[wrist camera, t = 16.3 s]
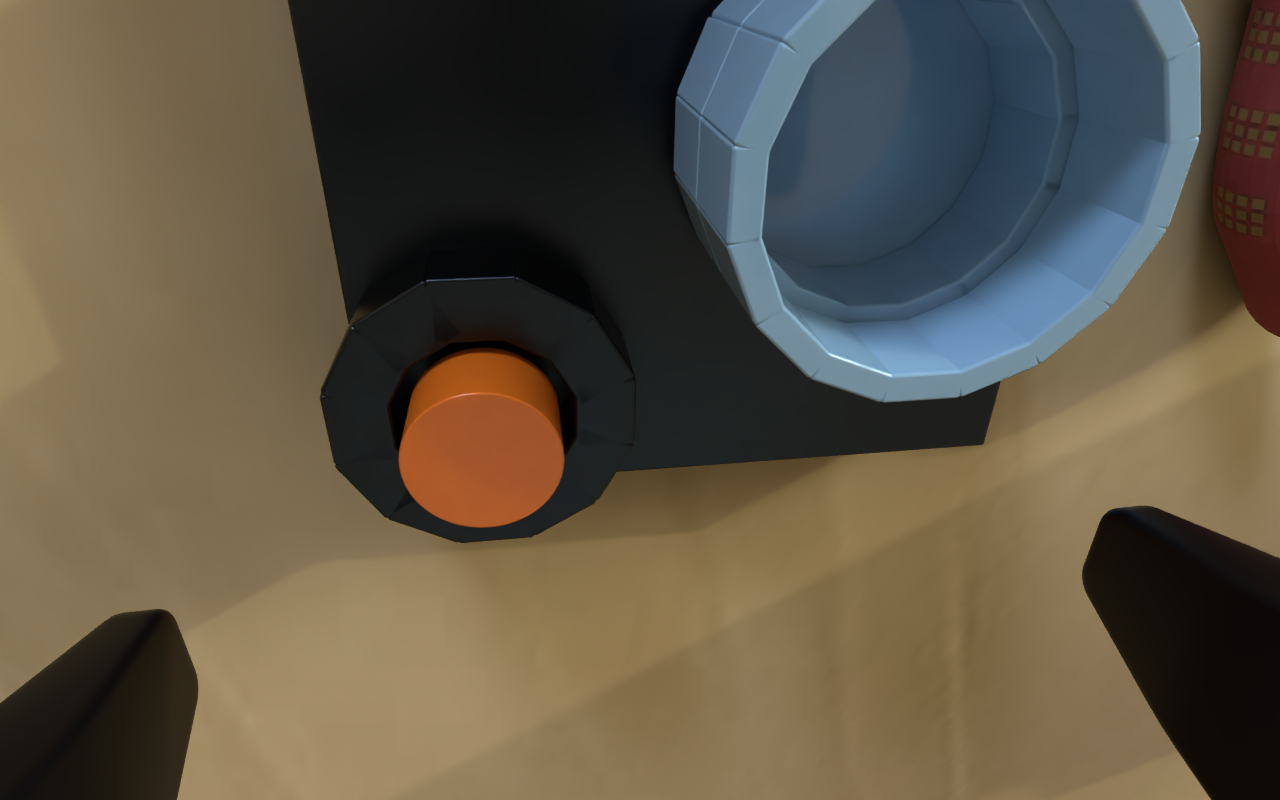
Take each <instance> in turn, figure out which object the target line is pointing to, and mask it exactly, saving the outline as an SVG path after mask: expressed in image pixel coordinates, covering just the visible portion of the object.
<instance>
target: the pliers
mask: <svg viewBox="0 0 1280 800" xmlns="http://www.w3.org/2000/svg"><path fill="white" fill-rule="evenodd" d="M1213 206H1214V219H1215V222H1216V225H1217V228H1218V230H1219V233H1220V236H1221V239H1222V241H1223V244H1224V247H1225V250H1226V252H1227V255H1228V258H1229V261H1230V263H1231V266H1232V269H1233V272H1234V274H1235V277H1236V280H1237V283H1238V285H1239V288H1240V291H1241V294H1242V296H1243V299H1244V302H1245V305H1246V308H1247V310H1248V311H1249V313H1250V314H1251V315H1252V317H1253V318H1254V319H1255V321H1256V322H1257V323H1259V324H1260V325H1261V326H1262V327H1263V328H1264V329H1266V330H1267V331H1269V332H1270V333H1272V334H1274V335H1276V336H1278V337H1280V0H1253V3H1252V7H1251V10H1250V14H1249V18H1248V22H1247V25H1246V29H1245V33H1244V37H1243V41H1242V44H1241V48H1240V52H1239V56H1238V59H1237V63H1236V67H1235V71H1234V74H1233V78H1232V82H1231V86H1230V90H1229V93H1228V97H1227V101H1226V105H1225V108H1224V113H1223V118H1222V123H1221V128H1220V133H1219V138H1218V145H1217V153H1216V160H1215V168H1214V180H1213Z"/></svg>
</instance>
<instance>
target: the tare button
mask: <svg viewBox="0 0 1280 800" xmlns="http://www.w3.org/2000/svg"><path fill="white" fill-rule="evenodd" d="M564 458H565V457H564V448H563V439H562V430H561V421H560V412H559V403H558V398H557V395H556V392H555V390H554V388H553V385H552V384H551V382H550V381H549V379H548V378H547V376H546V375H545V374H544V373H543V372H542V371H541V370H540V369H539V368H538V367H537V366H536V365H535V364H533V363H532V362H530V361H529V360H527V359H526V358H524V357H522V356H520V355H518V354H515V353H512V352H510V351H506V350H502V349H497V348H470V349H465V350H461V351H457V352H455V353H452V354H449V355H447V356H445V357H443V358H441V359H440V360H438V361H437V362H435V363H434V364H432V365H431V366H430V367H429V368H428V369H427V370H426V371H425V372H424V373H423V374H422V376H421V377H420V378H419V380H418V381H417V383H416V385H415V387H414V389H413V392H412V394H411V398H410V403H409V407H408V412H407V417H406V421H405V426H404V431H403V435H402V440H401V445H400V449H399V469H400V473H401V477H402V480H403V482H404V484H405V486H406V488H407V490H408V491H409V493H410V495H411V496H412V497H413V498H414V499H415V501H416V502H417V503H418V504H419V505H421V506H422V507H423V508H424V509H425V510H427V511H428V512H430V513H431V514H433V515H434V516H436V517H438V518H440V519H442V520H445V521H447V522H450V523H453V524H457V525H461V526H467V527H477V528H485V527H496V526H502V525H506V524H510V523H513V522H516V521H519V520H521V519H523V518H525V517H527V516H529V515H530V514H532V513H533V512H535V511H536V510H538V509H539V508H540V507H541V506H543V505H544V504H545V503H546V502H547V501H548V499H549V498H550V497H551V496H552V494H553V493H554V492H555V490H556V488H557V486H558V485H559V483H560V480H561V477H562V474H563V469H564Z"/></svg>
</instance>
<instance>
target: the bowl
mask: <svg viewBox="0 0 1280 800" xmlns="http://www.w3.org/2000/svg"><path fill="white" fill-rule="evenodd" d="M1197 40H1198V34H1197V32H1196V30H1195V28H1194V26H1193V24H1192V22H1191V20H1190V18H1189V16H1188V14H1187V12H1186V10H1185V8H1184V6H1183V4H1182V2H1181V0H723V1H722V2H721V4H720V5H719V6H718V7H717V8H716V9H715V10H714V11H713V14H712V17H709V18H708V19H707V21H706V24H705V26H704V28H703V31H702V33H701V36H700V38H699V40H698V43H697V45H696V48H695V50H694V52H693V55H692V57H691V60H690V62H689V65H688V67H687V69H686V72H685V74H684V77H683V79H682V81H681V84H680V86H679V89H678V91H677V95H678V96H677V97H676V109H675V141H674V172H675V174H676V175H675V179H676V181H677V184H678V187H679V189H680V192H681V195H682V197H683V200H684V203H685V205H686V208H687V211H688V213H689V216H690V219H691V221H692V224H693V227H694V229H695V232H696V235H697V237H698V238H699V240H700V241H701V243H702V244H703V246H704V248H705V249H706V251H707V252H708V254H709V255H710V257H711V258H712V260H713V261H714V263H715V264H716V266H717V268H718V269H719V271H720V272H721V274H722V275H723V277H724V278H725V280H726V282H727V283H728V285H729V286H730V288H731V289H732V291H733V292H734V294H735V295H736V297H737V299H738V300H739V302H740V303H741V305H742V306H743V308H744V309H745V311H746V312H747V314H748V315H749V317H750V319H751V320H752V322H753V323H754V325H755V326H756V328H757V329H758V330H759V331H760V332H761V333H762V334H763V335H764V336H765V337H766V338H767V339H768V340H770V341H771V342H772V343H773V344H774V345H775V346H776V347H777V348H778V349H779V350H780V351H781V352H782V353H783V354H784V355H785V356H786V357H787V358H788V359H789V360H790V361H791V362H792V363H793V364H794V365H795V366H796V367H797V368H798V369H799V370H800V371H801V372H802V373H803V374H804V375H805V376H807V377H810V378H811V379H812V380H815V381H818V382H821V383H824V384H827V385H830V386H832V387H835V388H838V389H841V390H844V391H847V392H850V393H853V394H856V395H859V396H862V397H865V398H868V399H871V400H874V401H878V402H880V401H881V402H884V403H885V402H901V401H916V400H931V399H946V398H957V397H959V396H965V395H967V394H969V393H972V392H974V391H977V390H979V389H982V388H984V387H986V386H989V385H991V384H994V383H996V382H999V381H1001V380H1003V379H1006V378H1008V377H1011V376H1013V375H1016V374H1018V373H1020V372H1023V371H1025V370H1028V369H1030V368H1033V367H1035V366H1036V365H1037V364H1038V363H1042V362H1043V361H1044V360H1046V359H1047V358H1048V357H1050V356H1051V355H1052V354H1053V353H1055V352H1056V351H1057V350H1058V349H1060V348H1061V347H1062V346H1063V345H1065V344H1066V343H1067V342H1068V341H1070V340H1071V339H1072V338H1073V337H1075V336H1076V335H1077V334H1078V333H1080V332H1081V331H1082V330H1083V329H1085V328H1086V327H1087V326H1088V325H1090V324H1091V323H1092V322H1093V321H1095V320H1096V319H1097V318H1098V317H1100V316H1101V315H1102V314H1103V313H1105V312H1106V311H1107V310H1108V309H1109V306H1112V305H1113V304H1114V303H1115V301H1116V300H1117V298H1118V297H1119V296H1120V294H1121V293H1122V292H1123V290H1124V289H1125V287H1126V286H1127V285H1128V283H1129V282H1130V281H1131V279H1132V278H1133V276H1134V275H1135V274H1136V272H1137V271H1138V270H1139V268H1140V267H1141V265H1142V264H1143V263H1144V261H1145V260H1146V259H1147V257H1148V256H1149V254H1150V253H1151V252H1152V250H1153V249H1154V248H1155V246H1156V245H1157V243H1158V242H1159V241H1160V239H1161V238H1162V237H1163V235H1164V234H1165V232H1166V229H1165V228H1167V227H1168V226H1169V225H1170V222H1171V219H1172V216H1173V213H1174V210H1175V208H1176V205H1177V202H1178V199H1179V196H1180V193H1181V191H1182V188H1183V185H1184V182H1185V179H1186V176H1187V174H1188V171H1189V168H1190V165H1191V162H1192V159H1193V157H1194V154H1195V151H1196V148H1197V145H1198V142H1199V137H1198V136H1199V135H1200V133H1201V100H1200V43H1199V42H1198V41H1197Z"/></svg>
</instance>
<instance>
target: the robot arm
mask: <svg viewBox="0 0 1280 800" xmlns="http://www.w3.org/2000/svg"><path fill="white" fill-rule="evenodd" d="M1082 580H1083V585H1084V588H1085V591H1086V593H1087V596H1088V597H1089V599H1090V601H1091V603H1092V604H1093V606H1094V608H1095V610H1096V612H1097V613H1098V615H1099V617H1100V619H1101V620H1102V622H1103V624H1104V626H1105V628H1106V629H1107V631H1108V633H1109V635H1110V637H1111V638H1112V640H1113V642H1114V644H1115V645H1116V647H1117V649H1118V651H1119V653H1120V654H1121V656H1122V658H1123V660H1124V661H1125V663H1126V665H1127V667H1128V669H1129V670H1130V672H1131V674H1132V676H1133V677H1134V679H1135V681H1136V683H1137V685H1138V686H1139V688H1140V690H1141V692H1142V694H1143V695H1144V697H1145V699H1146V701H1147V702H1148V704H1149V706H1150V708H1151V709H1152V711H1153V713H1154V714H1155V716H1156V718H1157V719H1158V721H1159V723H1160V724H1161V726H1162V728H1163V729H1164V731H1165V732H1166V734H1167V735H1168V737H1169V738H1170V740H1171V741H1172V743H1173V745H1174V746H1175V748H1176V749H1177V751H1178V752H1179V754H1180V755H1181V756H1182V758H1183V759H1184V761H1185V762H1186V764H1187V765H1188V767H1189V768H1190V770H1191V771H1192V772H1193V774H1194V775H1195V777H1196V778H1197V780H1198V781H1199V783H1200V784H1201V786H1202V787H1203V789H1204V790H1205V791H1206V793H1207V794H1208V796H1209V797H1210V799H1211V800H1280V558H1278V557H1275V556H1273V555H1270V554H1268V553H1265V552H1263V551H1260V550H1258V549H1256V548H1253V547H1251V546H1248V545H1246V544H1243V543H1241V542H1238V541H1236V540H1234V539H1231V538H1229V537H1226V536H1224V535H1221V534H1219V533H1216V532H1214V531H1212V530H1209V529H1207V528H1204V527H1202V526H1199V525H1197V524H1194V523H1192V522H1190V521H1187V520H1185V519H1182V518H1180V517H1177V516H1175V515H1172V514H1170V513H1168V512H1165V511H1163V510H1160V509H1158V508H1155V507H1151V506H1133V507H1123V508H1115V509H1112V510H1110V511H1108V512H1107V513H1106V514H1105V515H1104V516H1103V517H1102V519H1101V521H1100V523H1099V526H1098V528H1097V531H1096V534H1095V536H1094V539H1093V542H1092V544H1091V547H1090V550H1089V552H1088V555H1087V558H1086V561H1085V563H1084V566H1083V570H1082ZM197 699H198V680H197V674H196V671H195V668H194V666H193V663H192V660H191V658H190V655H189V653H188V650H187V648H186V645H185V642H184V640H183V637H182V635H181V632H180V630H179V627H178V624H177V622H176V620H175V618H174V616H173V615H172V614H171V613H170V612H168V611H166V610H163V609H154V610H144V611H135V612H125V613H120V614H116V615H114V616H112V617H110V618H109V619H107V620H106V621H104V622H103V623H102V624H101V625H99V626H98V627H97V628H95V629H94V630H93V631H92V632H90V633H89V634H88V635H87V636H85V637H84V638H83V639H81V640H80V641H79V642H78V643H76V644H75V645H74V646H73V647H71V648H70V649H69V650H67V651H66V652H65V653H64V654H62V655H61V656H60V657H59V658H57V659H56V660H55V661H53V662H52V663H51V664H50V665H48V666H47V667H46V668H44V669H43V670H42V671H41V672H39V673H38V674H37V675H36V676H34V677H33V678H32V679H30V680H29V681H28V682H27V683H25V684H24V685H23V686H22V687H20V688H19V689H18V690H16V691H15V692H14V693H13V694H11V695H10V696H9V697H7V698H6V699H5V700H4V701H2V702H1V703H0V800H177V797H178V792H179V787H180V782H181V777H182V773H183V768H184V763H185V758H186V753H187V748H188V744H189V739H190V734H191V729H192V724H193V719H194V715H195V710H196V705H197Z"/></svg>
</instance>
